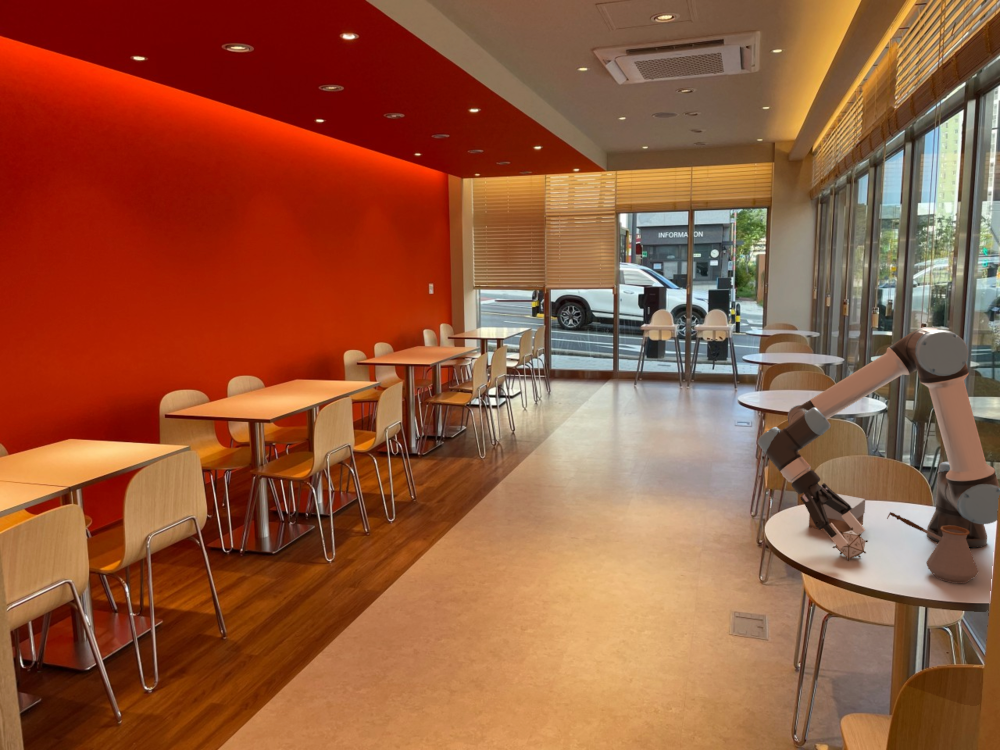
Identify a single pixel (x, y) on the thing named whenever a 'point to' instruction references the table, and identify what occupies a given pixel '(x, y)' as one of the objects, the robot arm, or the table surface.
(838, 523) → the tower bottom slab
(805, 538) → the table surface
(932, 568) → the coffee pot
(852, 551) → the game die
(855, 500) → the tower top slab
